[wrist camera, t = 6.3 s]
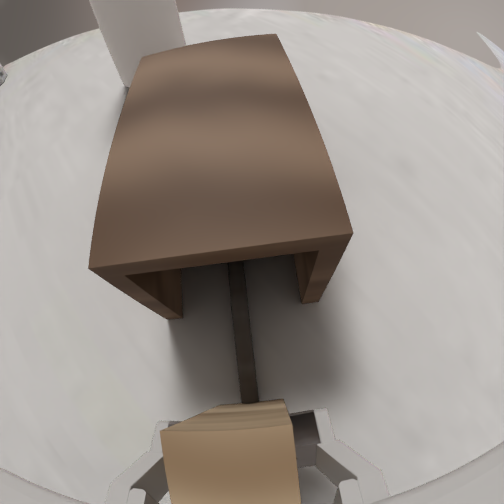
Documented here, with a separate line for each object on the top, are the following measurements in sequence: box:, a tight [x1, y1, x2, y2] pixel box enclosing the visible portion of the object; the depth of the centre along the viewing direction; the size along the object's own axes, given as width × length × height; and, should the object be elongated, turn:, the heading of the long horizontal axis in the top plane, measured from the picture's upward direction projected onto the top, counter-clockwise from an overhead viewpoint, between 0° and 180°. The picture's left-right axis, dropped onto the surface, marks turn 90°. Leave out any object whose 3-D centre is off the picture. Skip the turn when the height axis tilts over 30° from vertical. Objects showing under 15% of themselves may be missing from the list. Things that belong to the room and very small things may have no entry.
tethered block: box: [160, 260, 301, 504], centre depth 14 cm, size 21×5×9 cm, turn 6°
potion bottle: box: [89, 0, 186, 88], centre depth 20 cm, size 8×8×18 cm
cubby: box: [88, 34, 353, 319], centre depth 16 cm, size 15×9×8 cm, turn 6°
